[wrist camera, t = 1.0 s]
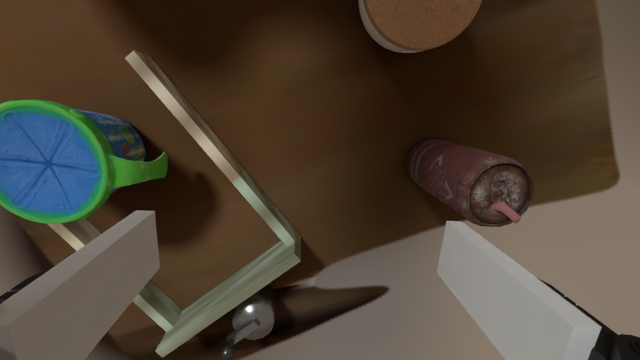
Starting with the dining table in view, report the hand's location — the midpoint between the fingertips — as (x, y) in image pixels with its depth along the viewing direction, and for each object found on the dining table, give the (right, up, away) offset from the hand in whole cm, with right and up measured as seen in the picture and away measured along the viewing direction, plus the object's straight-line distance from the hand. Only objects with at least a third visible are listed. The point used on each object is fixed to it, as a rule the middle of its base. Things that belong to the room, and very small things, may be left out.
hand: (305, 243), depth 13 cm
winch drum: (-8, -13, +27) cm, 31 cm away
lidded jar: (+9, +22, +19) cm, 30 cm away
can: (+14, +5, +24) cm, 28 cm away
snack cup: (-23, +7, +21) cm, 32 cm away
